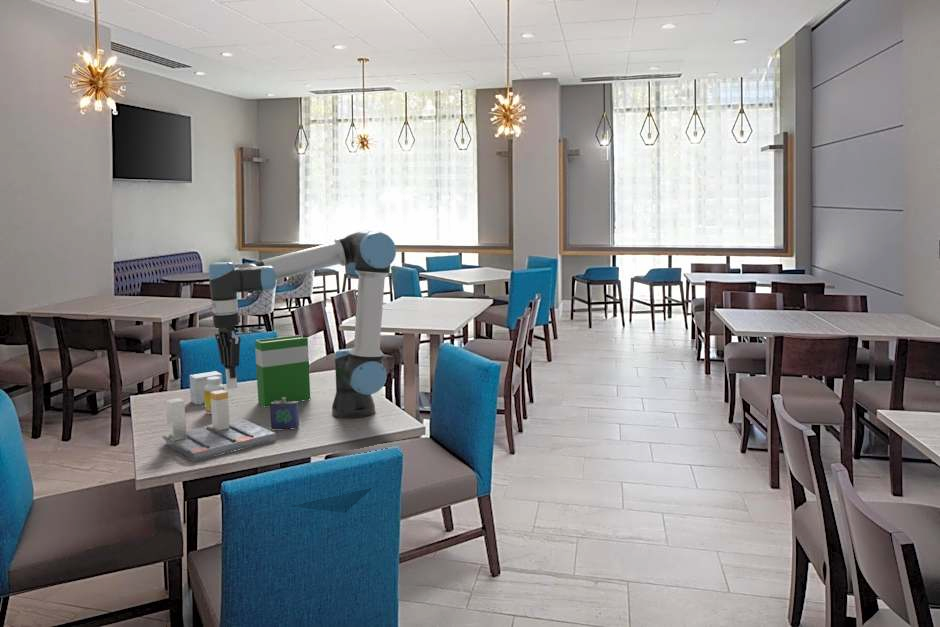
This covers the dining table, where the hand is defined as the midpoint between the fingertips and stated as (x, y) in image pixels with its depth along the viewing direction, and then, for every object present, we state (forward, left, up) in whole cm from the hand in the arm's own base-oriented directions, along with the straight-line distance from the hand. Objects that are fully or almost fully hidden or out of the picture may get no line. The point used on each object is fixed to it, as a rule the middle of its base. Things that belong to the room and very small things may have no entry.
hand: (232, 387), depth 228 cm
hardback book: (+10, -46, -18) cm, 51 cm away
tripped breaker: (+8, -4, -15) cm, 17 cm away
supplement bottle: (+26, -26, -18) cm, 41 cm away
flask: (-8, -16, -18) cm, 25 cm away
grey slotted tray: (+4, +2, -17) cm, 18 cm away
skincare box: (+39, -39, -18) cm, 58 cm away
